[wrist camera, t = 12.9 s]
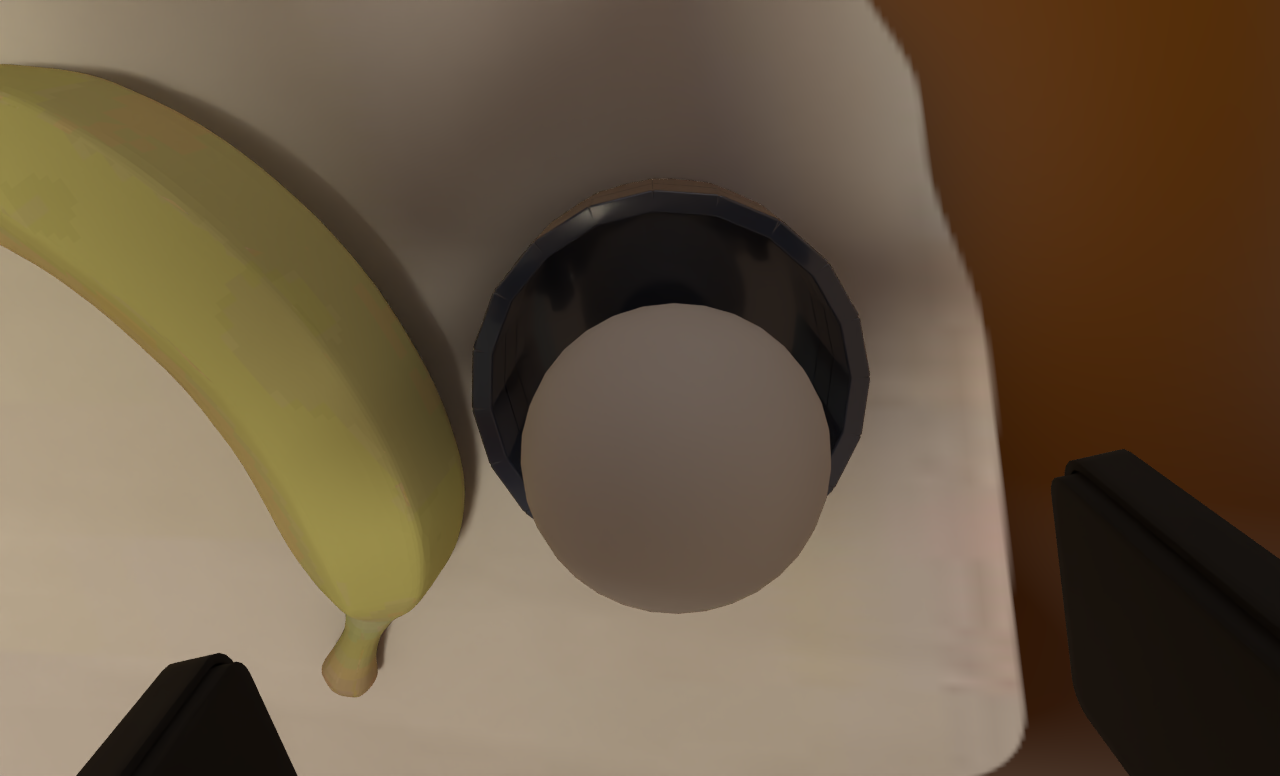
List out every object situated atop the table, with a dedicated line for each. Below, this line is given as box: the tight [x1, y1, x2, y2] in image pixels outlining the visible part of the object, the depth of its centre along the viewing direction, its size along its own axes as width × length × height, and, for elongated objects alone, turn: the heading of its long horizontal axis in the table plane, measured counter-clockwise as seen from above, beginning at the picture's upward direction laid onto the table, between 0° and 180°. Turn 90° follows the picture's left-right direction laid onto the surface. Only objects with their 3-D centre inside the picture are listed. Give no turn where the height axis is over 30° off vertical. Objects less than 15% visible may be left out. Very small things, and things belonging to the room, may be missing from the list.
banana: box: [0, 64, 465, 697], centre depth 25 cm, size 14×6×20 cm
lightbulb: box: [521, 303, 831, 614], centre depth 20 cm, size 6×6×11 cm
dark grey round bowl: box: [472, 178, 870, 519], centre depth 23 cm, size 10×10×4 cm
